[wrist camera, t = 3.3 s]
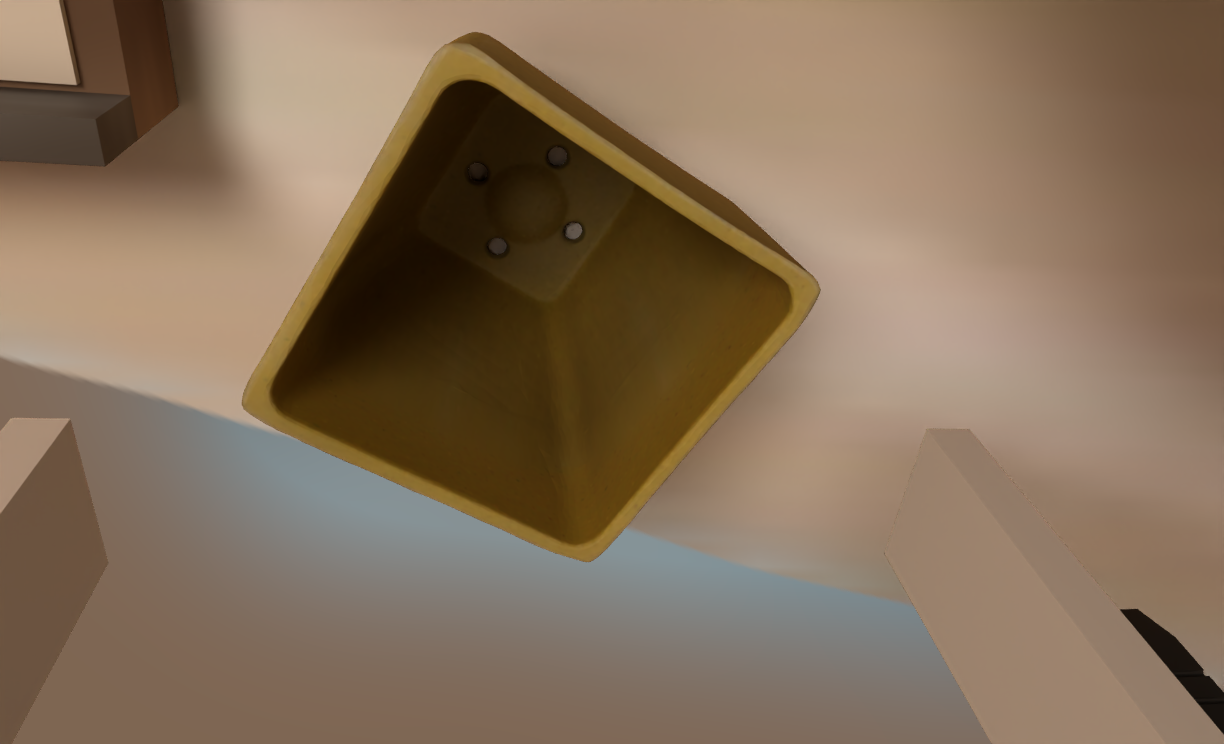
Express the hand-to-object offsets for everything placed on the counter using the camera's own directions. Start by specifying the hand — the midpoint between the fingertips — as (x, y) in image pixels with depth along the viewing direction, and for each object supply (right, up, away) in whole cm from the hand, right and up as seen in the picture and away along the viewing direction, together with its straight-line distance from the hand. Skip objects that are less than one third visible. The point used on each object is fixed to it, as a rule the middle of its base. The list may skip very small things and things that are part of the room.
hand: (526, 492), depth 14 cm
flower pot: (-1, +7, +11) cm, 13 cm away
